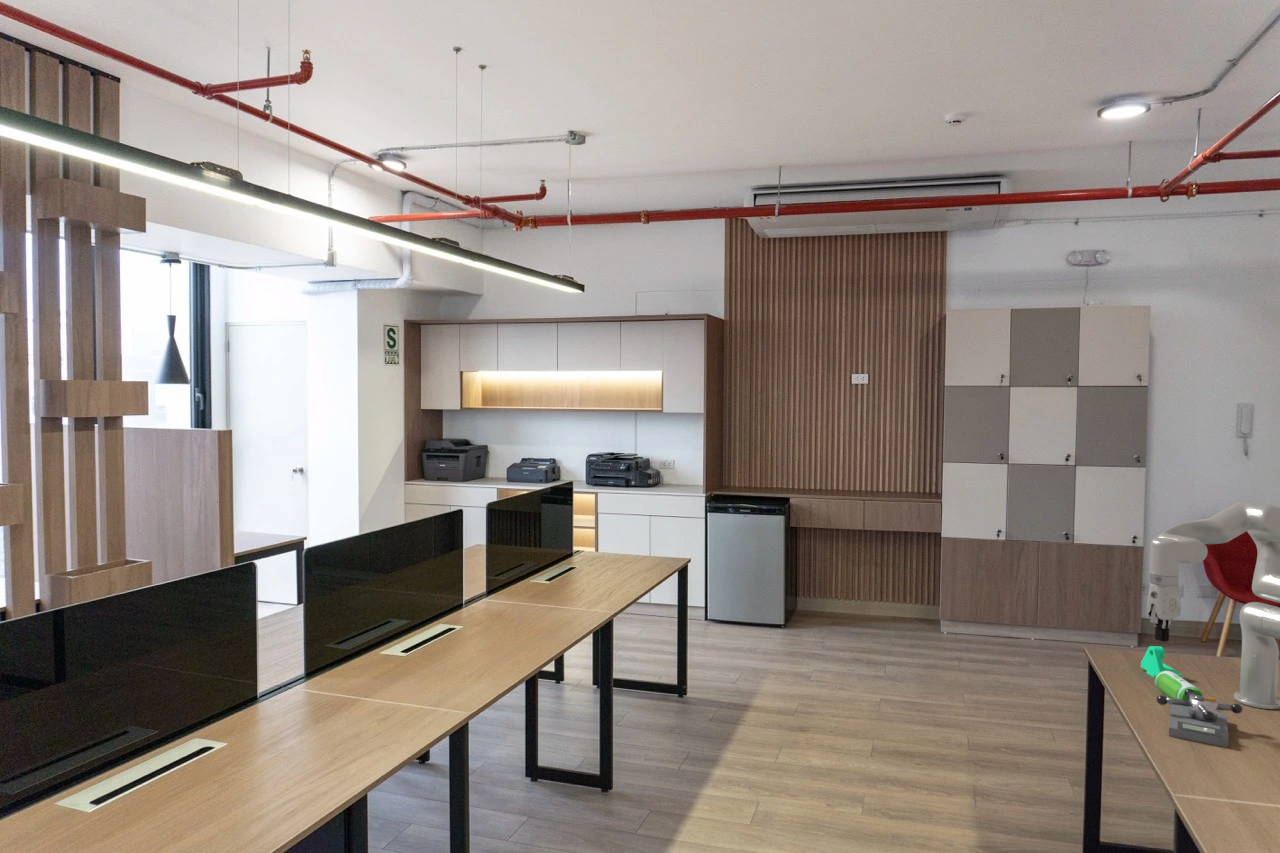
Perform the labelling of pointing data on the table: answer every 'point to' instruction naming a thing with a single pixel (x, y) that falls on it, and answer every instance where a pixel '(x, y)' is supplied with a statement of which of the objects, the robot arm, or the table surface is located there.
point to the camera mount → (1156, 662)
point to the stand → (1198, 727)
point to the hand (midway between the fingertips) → (1161, 640)
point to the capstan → (1200, 705)
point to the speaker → (1174, 685)
